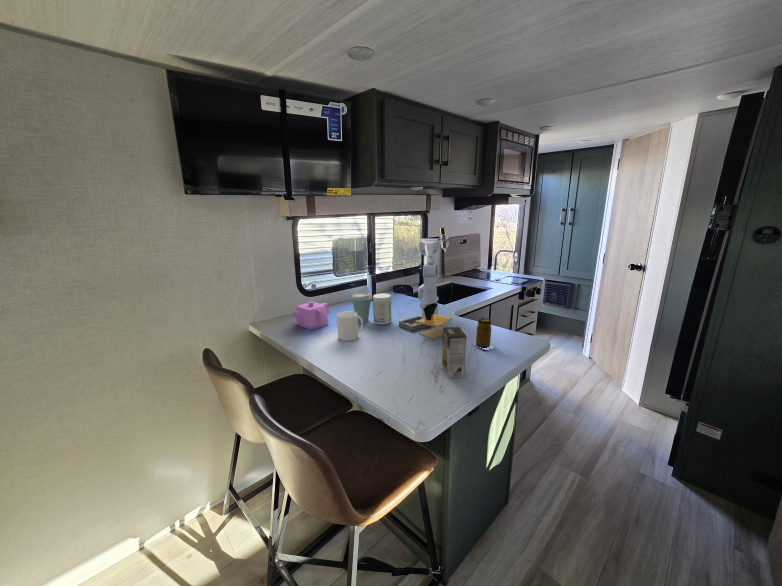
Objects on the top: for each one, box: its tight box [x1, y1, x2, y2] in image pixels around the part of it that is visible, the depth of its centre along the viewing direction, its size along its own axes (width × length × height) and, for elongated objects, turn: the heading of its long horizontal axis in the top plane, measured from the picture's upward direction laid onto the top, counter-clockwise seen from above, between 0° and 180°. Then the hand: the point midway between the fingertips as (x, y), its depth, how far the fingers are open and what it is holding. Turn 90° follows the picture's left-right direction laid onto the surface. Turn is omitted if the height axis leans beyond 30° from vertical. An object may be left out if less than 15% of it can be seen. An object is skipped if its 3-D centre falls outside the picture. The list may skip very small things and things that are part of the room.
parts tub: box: [398, 315, 431, 333], centre depth 170 cm, size 14×10×3 cm
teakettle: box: [291, 300, 330, 330], centre depth 172 cm, size 17×17×12 cm
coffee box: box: [441, 326, 467, 379], centre depth 120 cm, size 9×6×16 cm
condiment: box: [475, 317, 492, 351], centre depth 143 cm, size 7×8×12 cm
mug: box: [336, 310, 364, 342], centre depth 154 cm, size 10×12×12 cm
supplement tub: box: [372, 293, 393, 326], centre depth 174 cm, size 10×10×15 cm
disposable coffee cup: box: [351, 292, 372, 324], centre depth 176 cm, size 11×11×15 cm
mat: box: [419, 326, 444, 340], centre depth 160 cm, size 14×9×1 cm, turn 128°
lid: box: [417, 314, 453, 328], centre depth 158 cm, size 15×11×6 cm
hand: (429, 319), depth 153 cm, fingers closed on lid
